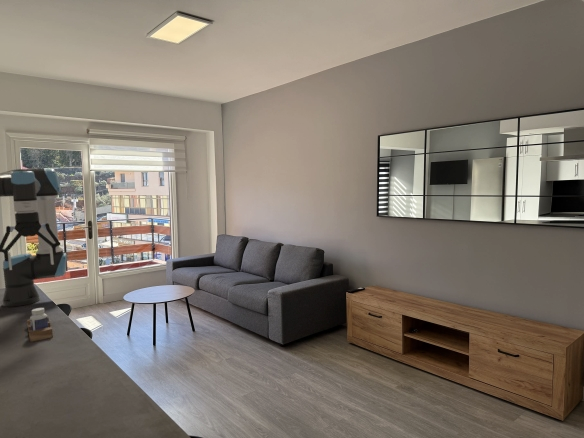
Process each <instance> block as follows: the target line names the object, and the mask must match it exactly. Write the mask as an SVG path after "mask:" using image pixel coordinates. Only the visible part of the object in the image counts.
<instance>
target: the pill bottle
mask: <svg viewBox="0 0 584 438" xmlns="http://www.w3.org/2000/svg"><path fill="white" fill-rule="evenodd" d="M47 316H48V315H47V314H46V313H45V307H37V308H33V309H32V310H31V316H30V318H29V319H30V323H31V331H34V330H39V329H44V328H48V320H47Z"/></svg>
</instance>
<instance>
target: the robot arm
mask: <svg viewBox="0 0 584 438" xmlns="http://www.w3.org/2000/svg"><path fill="white" fill-rule="evenodd" d="M61 190H62V189H61V183H60V179H59V175H58V173H57V171H56V170H55V169H53V168H45V167H44V168H17V169H12V170H6V171H4V172H3V171H2V172H0V197H1V198H2V197H13V209H14V212H15V213H14V218H15V220H14V221H15V226H11V225H7V226H6V227H5V233H4V235H3V236H2V239H1V242H0V253H3V256H4V257H3V258H4V259H3V261H2V270H3V277H4V279H3V280H4V287H5V290H4V294H3V296H2V301H1V302H2V303H1V304H2V307H4V308H5V307H8V308H10V307H13V308H14V307H20V306H26V305H31V304H34V303H37V302H38V301H40V294H39V291H38V290H37V288H36V286H35V281H34V280H42V279H43V280H44V279H51V278H53V279H55V278H59V277H63V276H65V275H66V272H67V264H68V263H67V261H68V256H67V255H68V254H67V253H66V252H64V250H63V249H62V248H61V247H60V246H61V242H60V240H59V232H58V231H59V230H58V221H57V209H56V198H57V197H58V196H59V195H58V193H60V192H61ZM14 230H15V231H16V232H17V233H16V235H15V236H14V237H13V239H11V241H10V242H9V244H8V245H7V246H6V247H5V248H4V246H5V245H6V242H7V241H8V238H9V236H10V234H11V233H12V232H13V231H14ZM36 235H37V239H38V240H37V242H38V249H37V251H36V252H35V255H33V254H31V253H21V254H16V255H13V256H11V251H10V250H11V249H12V248H13V246H14V245H15V244H16V243H17V242H18V240H20V238H21V237H23V238H25V237H34V236H36Z"/></svg>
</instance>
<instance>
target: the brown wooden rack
mask: <svg viewBox="0 0 584 438" xmlns="http://www.w3.org/2000/svg"><path fill="white" fill-rule="evenodd" d="M47 320H48V328H44V329H39V330H34V331H31V323H30V318H29V319H27V329H28V335H29V342H30V343H31V342H35V341H40V340H47V339H50V338H53V337H54V334H53V328H52V327H53V326H51V322H50V320H49V315H47Z"/></svg>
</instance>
